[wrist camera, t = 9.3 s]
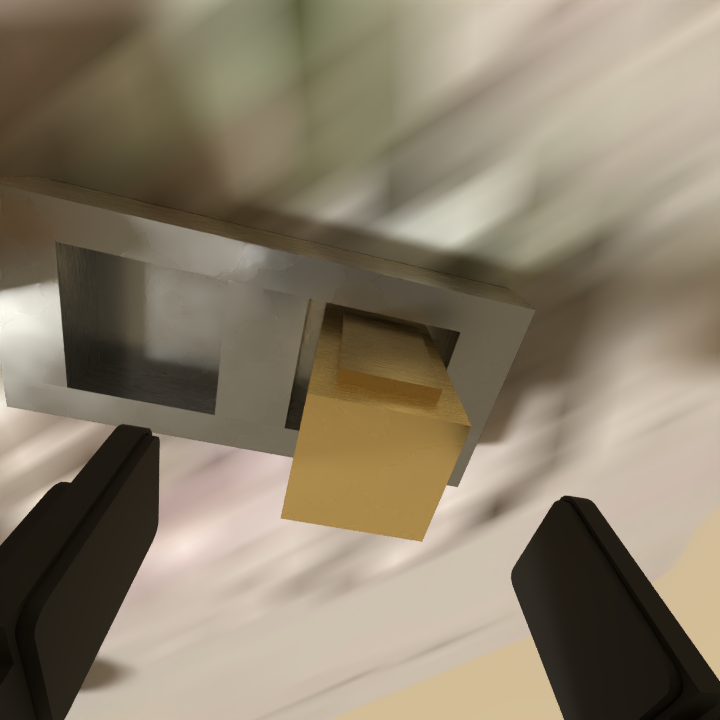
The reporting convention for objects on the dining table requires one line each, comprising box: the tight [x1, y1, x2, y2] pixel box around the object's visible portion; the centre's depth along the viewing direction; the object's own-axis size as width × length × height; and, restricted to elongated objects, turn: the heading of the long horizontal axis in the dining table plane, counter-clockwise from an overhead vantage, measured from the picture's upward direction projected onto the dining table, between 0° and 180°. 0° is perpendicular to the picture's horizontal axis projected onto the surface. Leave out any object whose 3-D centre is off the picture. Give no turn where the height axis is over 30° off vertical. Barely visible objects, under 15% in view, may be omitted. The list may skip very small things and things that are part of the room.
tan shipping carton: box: [281, 302, 472, 542], centre depth 15 cm, size 5×4×8 cm
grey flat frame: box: [0, 176, 536, 487], centre depth 18 cm, size 20×9×3 cm, turn 77°
